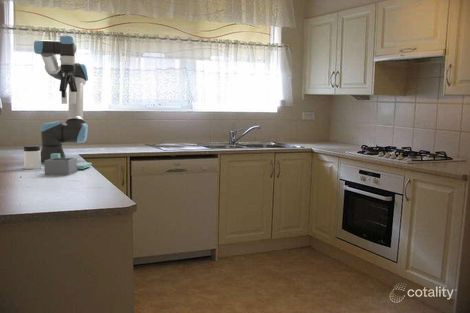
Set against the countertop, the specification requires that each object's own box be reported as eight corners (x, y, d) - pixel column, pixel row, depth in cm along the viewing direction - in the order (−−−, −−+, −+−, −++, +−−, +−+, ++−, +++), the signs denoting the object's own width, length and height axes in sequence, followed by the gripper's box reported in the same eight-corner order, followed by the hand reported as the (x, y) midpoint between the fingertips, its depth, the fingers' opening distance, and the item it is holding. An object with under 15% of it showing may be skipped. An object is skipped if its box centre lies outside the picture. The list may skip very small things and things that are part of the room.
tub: (54, 171, 259) (53, 157, 258) (77, 171, 259) (76, 158, 258) (44, 174, 247) (44, 160, 246) (68, 174, 247) (68, 160, 246)
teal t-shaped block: (56, 166, 277) (55, 152, 276) (91, 167, 276) (91, 152, 275) (46, 170, 264) (46, 155, 263) (84, 170, 263) (83, 155, 262)
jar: (43, 166, 275) (42, 145, 273) (39, 168, 267) (38, 146, 265) (26, 166, 274) (25, 145, 272) (21, 169, 266) (20, 146, 264)
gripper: (69, 65, 284) (70, 103, 286) (52, 62, 259) (53, 103, 261) (82, 65, 283) (83, 103, 286) (66, 62, 259) (67, 103, 261)
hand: (68, 103), depth 274 cm, fingers open, 13 cm apart
